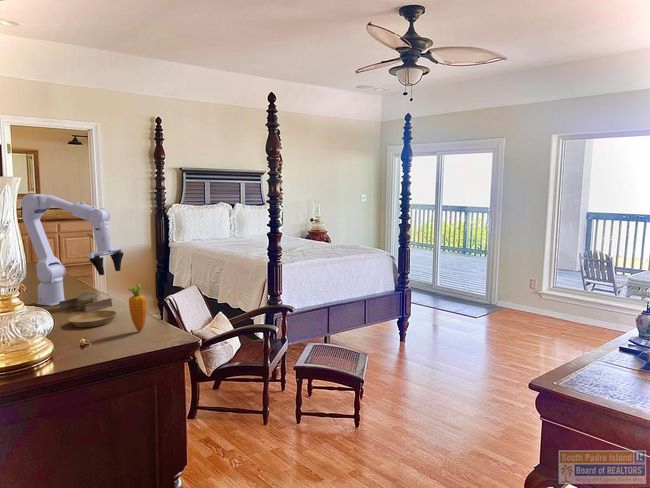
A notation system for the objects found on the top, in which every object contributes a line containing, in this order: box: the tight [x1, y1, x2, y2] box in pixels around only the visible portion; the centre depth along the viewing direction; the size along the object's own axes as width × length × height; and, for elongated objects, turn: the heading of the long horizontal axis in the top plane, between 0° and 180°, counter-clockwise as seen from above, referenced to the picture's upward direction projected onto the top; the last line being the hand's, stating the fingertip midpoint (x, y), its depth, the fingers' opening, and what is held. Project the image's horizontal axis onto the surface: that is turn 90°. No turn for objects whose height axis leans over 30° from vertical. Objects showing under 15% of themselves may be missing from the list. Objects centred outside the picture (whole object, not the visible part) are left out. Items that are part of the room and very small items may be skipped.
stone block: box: [77, 292, 98, 312], centre depth 182 cm, size 6×12×5 cm, turn 20°
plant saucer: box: [68, 309, 118, 328], centre depth 160 cm, size 15×15×3 cm
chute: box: [58, 296, 113, 313], centre depth 182 cm, size 15×11×3 cm
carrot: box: [127, 282, 147, 333], centre depth 146 cm, size 5×5×15 cm
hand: (110, 273), depth 189 cm, fingers open, 7 cm apart
